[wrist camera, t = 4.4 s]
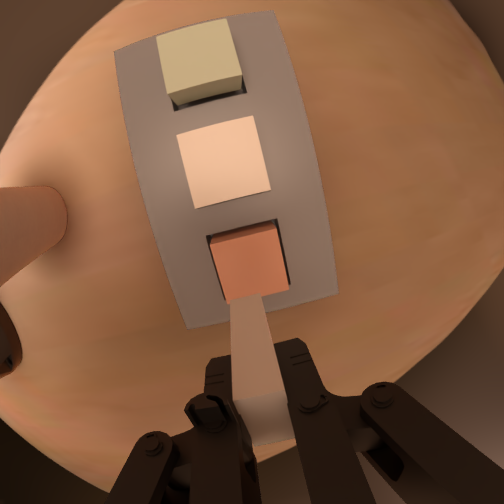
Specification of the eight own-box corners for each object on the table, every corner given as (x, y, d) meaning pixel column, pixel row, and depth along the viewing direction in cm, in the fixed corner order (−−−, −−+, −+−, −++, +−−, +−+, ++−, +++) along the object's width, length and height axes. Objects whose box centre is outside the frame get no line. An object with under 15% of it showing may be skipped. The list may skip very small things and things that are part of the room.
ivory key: (201, 202, 21) (195, 208, 17) (185, 140, 19) (176, 135, 16) (265, 186, 21) (271, 190, 17) (250, 124, 19) (252, 115, 16)
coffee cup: (53, 153, 21) (-60, 158, 7) (94, 229, 24) (-13, 290, 9) (8, 206, 22) (-86, 239, 8) (44, 274, 25) (-42, 339, 10)
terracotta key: (228, 286, 25) (227, 304, 22) (213, 234, 24) (209, 244, 20) (282, 273, 25) (289, 289, 22) (270, 220, 23) (276, 228, 20)
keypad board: (191, 313, 27) (187, 329, 24) (125, 62, 19) (113, 51, 16) (328, 281, 27) (338, 293, 24) (269, 25, 19) (273, 10, 16)
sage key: (177, 105, 18) (167, 94, 15) (166, 54, 17) (155, 36, 14) (241, 89, 18) (242, 74, 15) (227, 38, 17) (226, 18, 14)
